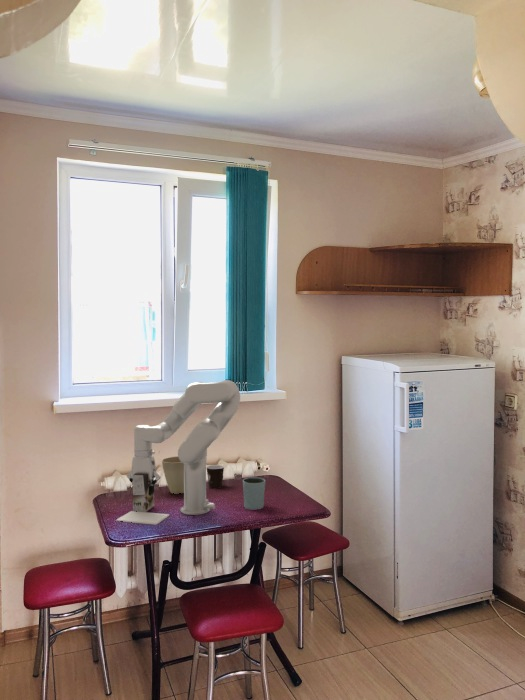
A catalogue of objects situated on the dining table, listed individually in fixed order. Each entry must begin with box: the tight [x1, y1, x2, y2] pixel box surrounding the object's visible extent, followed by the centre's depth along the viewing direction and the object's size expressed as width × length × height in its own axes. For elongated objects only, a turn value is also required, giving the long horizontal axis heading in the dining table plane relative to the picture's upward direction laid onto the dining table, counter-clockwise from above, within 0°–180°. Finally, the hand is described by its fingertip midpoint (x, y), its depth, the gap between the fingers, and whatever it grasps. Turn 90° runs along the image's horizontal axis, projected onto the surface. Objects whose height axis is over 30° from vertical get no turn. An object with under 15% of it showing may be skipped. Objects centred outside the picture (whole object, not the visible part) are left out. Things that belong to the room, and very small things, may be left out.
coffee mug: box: [206, 464, 225, 489], centre depth 286 cm, size 12×9×10 cm
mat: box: [116, 510, 170, 526], centre depth 239 cm, size 18×12×1 cm, turn 74°
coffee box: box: [132, 474, 155, 512], centre depth 252 cm, size 9×6×16 cm
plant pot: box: [161, 455, 184, 495], centre depth 279 cm, size 15×15×16 cm
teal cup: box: [242, 476, 266, 511], centre depth 254 cm, size 10×10×12 cm
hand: (143, 493), depth 252 cm, fingers closed on coffee box, 6 cm apart
